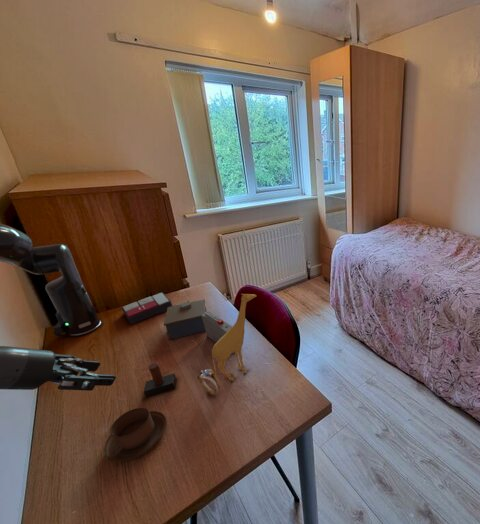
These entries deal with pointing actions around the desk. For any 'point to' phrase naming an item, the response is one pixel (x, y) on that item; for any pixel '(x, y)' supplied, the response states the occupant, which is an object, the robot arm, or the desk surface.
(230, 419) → the desk surface
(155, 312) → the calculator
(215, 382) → the ring
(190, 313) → the grey storage box
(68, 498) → the desk surface
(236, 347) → the giraffe
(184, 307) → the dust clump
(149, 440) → the brown fedora hat
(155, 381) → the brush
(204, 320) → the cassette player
